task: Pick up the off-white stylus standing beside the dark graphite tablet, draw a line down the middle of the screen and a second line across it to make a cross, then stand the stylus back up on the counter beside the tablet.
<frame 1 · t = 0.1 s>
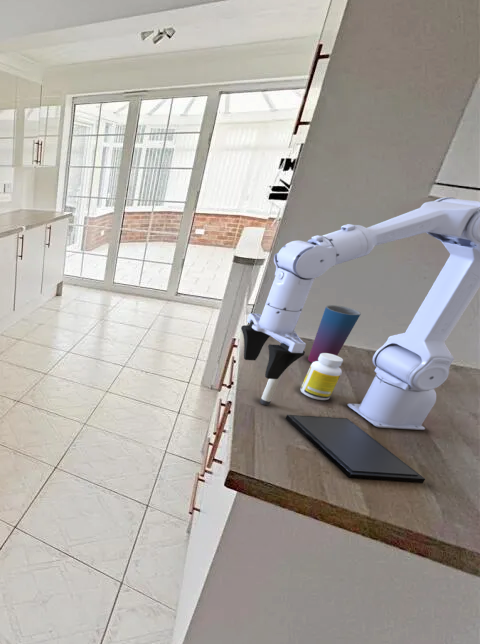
hand: (259, 368, 83), 10 cm above the counter, tool pointing down, fingers open, 7 cm apart
tablet: (346, 447, 77), on the counter
supplement bottle: (313, 395, 94), on the counter
stylus: (264, 403, 90), on the counter
cup: (319, 362, 109), on the counter
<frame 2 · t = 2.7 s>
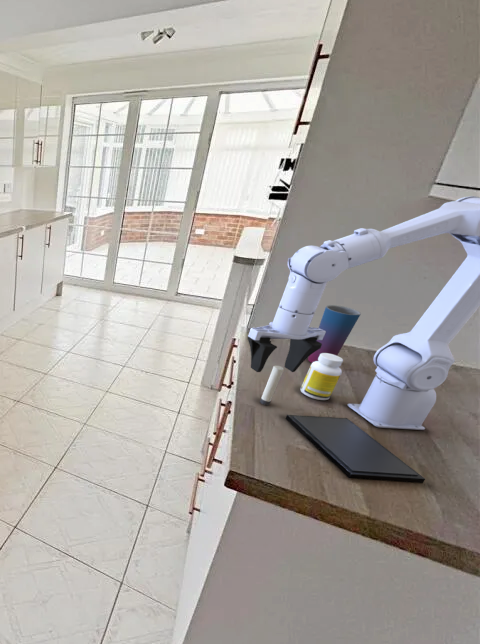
hand: (272, 369, 85), 9 cm above the counter, tool pointing down, fingers open, 7 cm apart
nothing on the counter moved.
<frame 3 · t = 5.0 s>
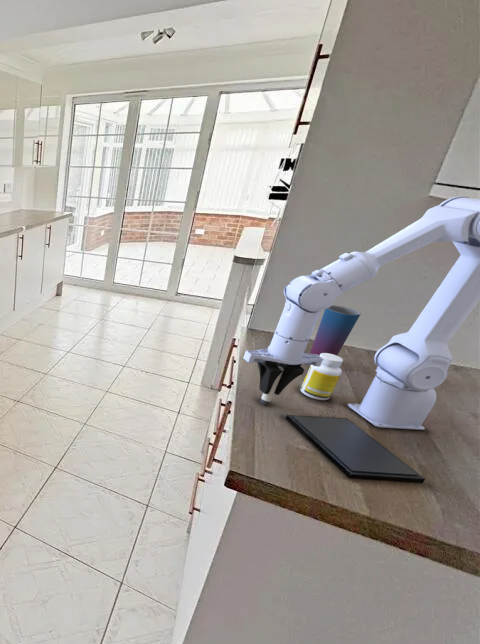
hand: (269, 392, 89), 3 cm above the counter, tool pointing down, fingers closed on stylus, 2 cm apart
stylus: (264, 403, 90), on the counter, touching gripper
everything else where it was.
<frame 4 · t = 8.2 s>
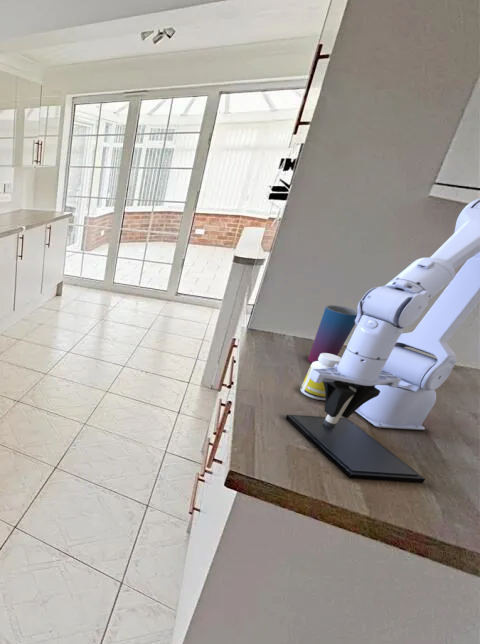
hand: (335, 414, 80), 4 cm above the counter, tool pointing down, fingers closed on stylus, 2 cm apart
stylus: (328, 424, 81), point 1 cm above the counter, touching gripper
everything else where it was.
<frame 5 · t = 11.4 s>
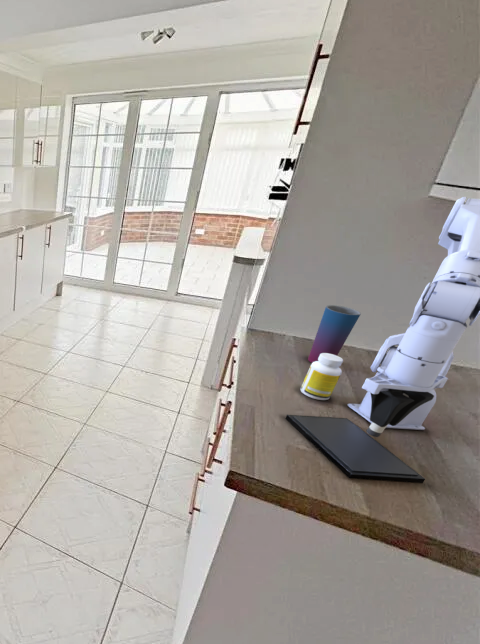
hand: (382, 423, 72), 7 cm above the counter, tool pointing down, fingers closed on stylus
stylus: (372, 433, 74), point 5 cm above the counter, tilted 6°, touching gripper
everything else where it was.
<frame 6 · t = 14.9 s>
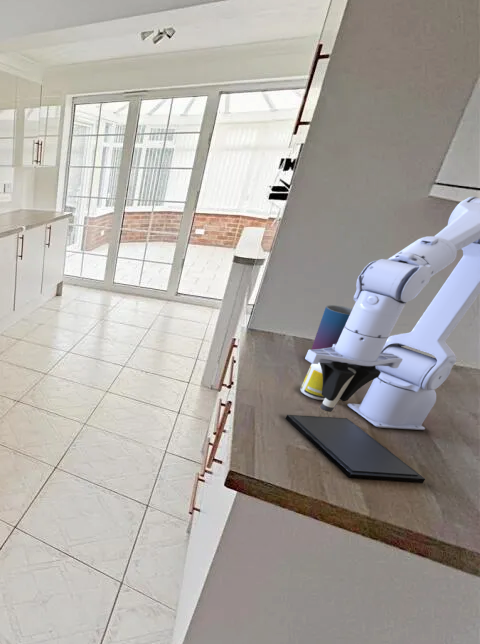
hand: (333, 398, 75), 9 cm above the counter, tool pointing down, fingers closed on stylus
stylus: (325, 408, 77), point 7 cm above the counter, tilted 6°, touching gripper
everything else where it was.
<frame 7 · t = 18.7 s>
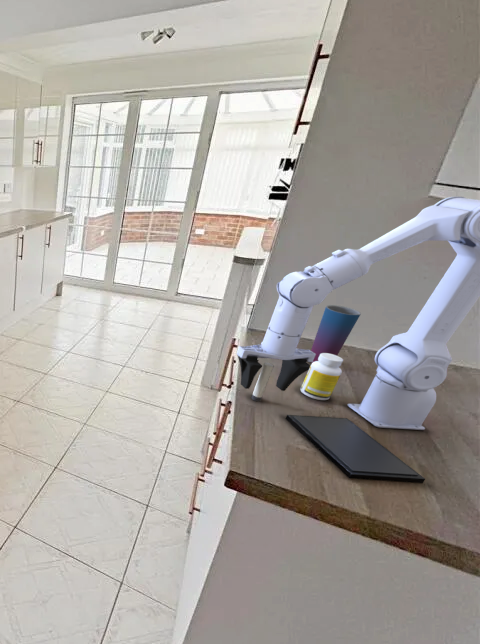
hand: (262, 387, 89), 3 cm above the counter, tool pointing down, fingers open, 7 cm apart
stylus: (255, 398, 91), on the counter
everything else where it was.
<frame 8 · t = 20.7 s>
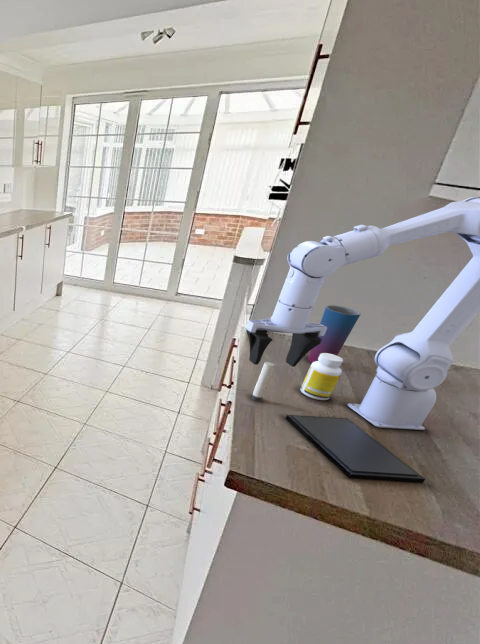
hand: (271, 363, 87), 9 cm above the counter, tool pointing down, fingers open, 7 cm apart
nothing on the counter moved.
at the end: stylus 0.5 cm from the target spot, on the counter; stylus tilted 0°; the gripper is holding nothing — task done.
